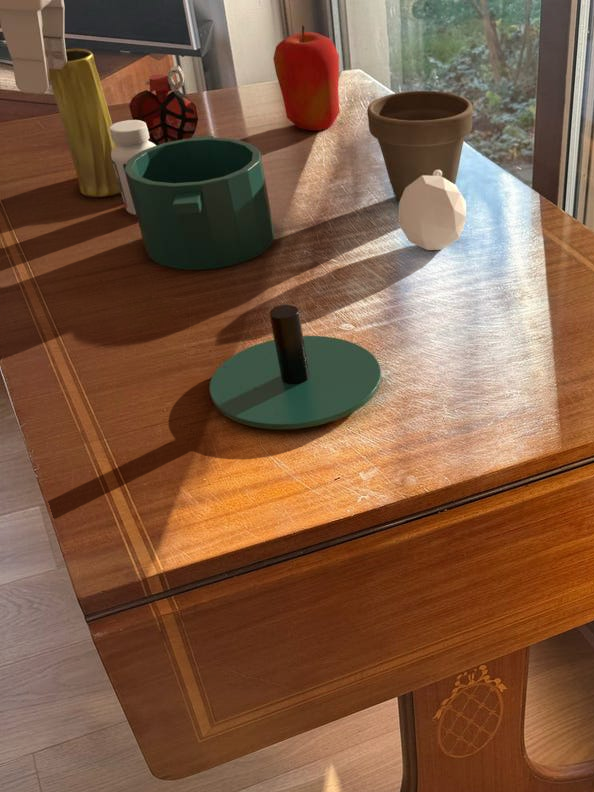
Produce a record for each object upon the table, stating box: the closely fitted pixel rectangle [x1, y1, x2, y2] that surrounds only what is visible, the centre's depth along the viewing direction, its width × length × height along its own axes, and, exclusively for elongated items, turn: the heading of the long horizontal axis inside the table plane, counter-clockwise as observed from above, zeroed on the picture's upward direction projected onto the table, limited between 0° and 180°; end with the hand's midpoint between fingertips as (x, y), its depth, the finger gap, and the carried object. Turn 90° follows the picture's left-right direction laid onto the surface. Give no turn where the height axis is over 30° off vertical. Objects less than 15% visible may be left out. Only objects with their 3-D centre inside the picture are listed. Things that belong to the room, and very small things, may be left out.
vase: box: [49, 48, 121, 199], centre depth 113 cm, size 6×6×14 cm
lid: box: [209, 304, 382, 430], centre depth 82 cm, size 15×15×7 cm
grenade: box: [128, 65, 199, 146], centre depth 122 cm, size 5×8×10 cm, turn 103°
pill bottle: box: [109, 119, 156, 216], centre depth 111 cm, size 5×5×9 cm
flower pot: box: [366, 90, 474, 203], centre depth 110 cm, size 12×11×10 cm
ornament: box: [398, 170, 467, 251], centre depth 102 cm, size 7×7×8 cm
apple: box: [273, 24, 341, 132], centre depth 128 cm, size 9×8×12 cm
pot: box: [124, 135, 275, 271], centre depth 104 cm, size 14×19×8 cm
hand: (44, 79), depth 63 cm, fingers open, 8 cm apart
